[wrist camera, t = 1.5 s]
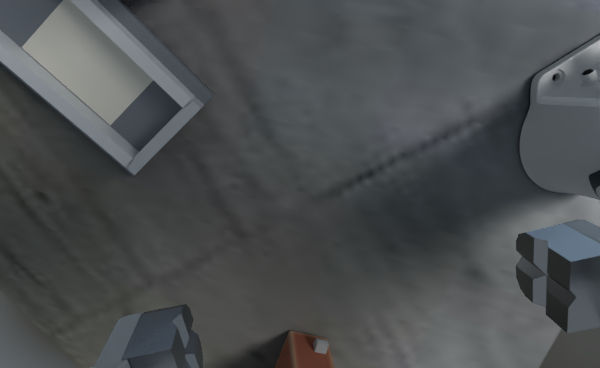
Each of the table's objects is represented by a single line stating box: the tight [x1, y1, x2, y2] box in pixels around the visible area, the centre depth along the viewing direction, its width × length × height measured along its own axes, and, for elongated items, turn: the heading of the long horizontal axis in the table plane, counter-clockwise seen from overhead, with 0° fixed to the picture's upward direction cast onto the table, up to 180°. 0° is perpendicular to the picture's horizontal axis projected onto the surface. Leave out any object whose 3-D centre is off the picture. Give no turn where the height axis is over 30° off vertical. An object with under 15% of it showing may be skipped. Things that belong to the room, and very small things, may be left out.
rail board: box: [0, 0, 215, 177], centre depth 37 cm, size 12×20×4 cm, turn 43°
